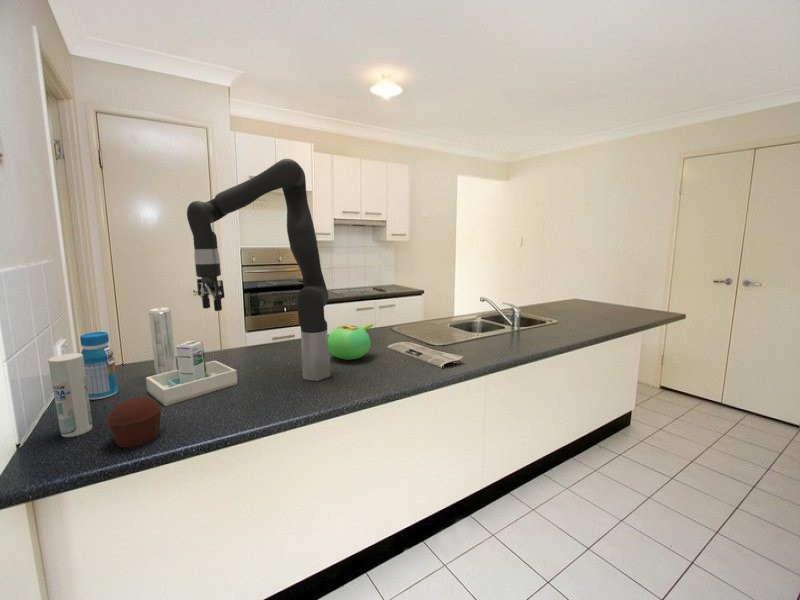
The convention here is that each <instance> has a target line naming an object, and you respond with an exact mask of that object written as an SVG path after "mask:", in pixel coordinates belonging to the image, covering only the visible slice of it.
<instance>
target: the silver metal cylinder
mask: <svg viewBox="0 0 800 600" xmlns="http://www.w3.org/2000/svg"><path fill="white" fill-rule="evenodd" d="M148 319H149V327H150V337H151V346H152V352H153V353H152V354H153V360H154V373H155V375H158V374H162V373H166V372H170V371H174V370H178V369H177V368H178V367H177V361H176V360H177V359H176V351H175V350H176V348H175V342H174V341H175V339H174V330H173V321H172V313H171V310H170V308H169V307H157V308H155V307H154V308H152V309H149V312H148Z"/></svg>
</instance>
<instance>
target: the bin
mask: <svg viewBox="0 0 800 600" xmlns="http://www.w3.org/2000/svg"><path fill="white" fill-rule="evenodd" d="M205 364H206V373H207V377H206V378H203V379H199V380H195V381H192V382H188V383H184V384H181V385H180V376H179V368H178V369H177V370H174V371H170V372H166V373H162V374H158V375H156V374H154V375H151V376H147V377H145V380H146V390H147V393H148V392H149V395H151V396H152V397H153V398H155V399H156V401H159V402H160V403H161V404H163V406H165V407H168V406H171V405H174V404H177V403H181V402H183V401H187V400H190V399H194V398H198V397H200V396H204V395H206V394H210V393H214V392H216V390H217V391H220V390H224V389H226V387H227V388H229V386H230V387H232V386H237V385H238V373H237V371H238V370H237V369H235V368H233V367H230V366H228V365H226V364H224V363H222V362H220V361H218V360H212V361H207V362H205ZM213 391H214V392H213Z"/></svg>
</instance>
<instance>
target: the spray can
mask: <svg viewBox="0 0 800 600" xmlns="http://www.w3.org/2000/svg"><path fill="white" fill-rule="evenodd" d="M47 362H48V367H49V373H50V379H51V385H52V390H53V391H52V392H53V396H54V403H55V407H56V415H57V419H58V425H59V426H58V427H59V430H60V431H59V432H60V435H61V436H62V437H64V438H71V437H77V436H80V435H84V434H86V433H88V432H89V431H92V429H93V419H92V412H91V406H90V404H91V403H90V399H89V396H88V389H87V381H86V374H85V367H84V359H83V355H82V354H81V352H80V353H79V352H77V353H76V352H73V353H72V352H71V353H65V354H60V355H56V356H52V357H50V358H48V361H47Z"/></svg>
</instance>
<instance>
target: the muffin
mask: <svg viewBox="0 0 800 600" xmlns="http://www.w3.org/2000/svg"><path fill="white" fill-rule="evenodd" d="M162 409H163V407H162V405H161V404H160V403H159V402H157V400H155V399H154V398H152V397H146V396H135V397H131V398H128V399H124V400H123V401H121V402H120V403H118V404H116V405H115V406H114V407H113V408H112V410H111V411H110V412H109V413H108V415H107V417H106V418H105V420H104V421H105V423H106V424H107V425H108V426H109V429H110V432H111V435H112V437H113V440H114V443H115V444H116V445H117V446H118V447H119V448H132V447H136V446H141V445H145V444H147V443H148V442H150V441H153V440H154V439H156V438H155V437H157V436H158V434H159V433H160V426H161V425H160V424H161V412H162ZM156 435H157V436H156Z"/></svg>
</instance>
